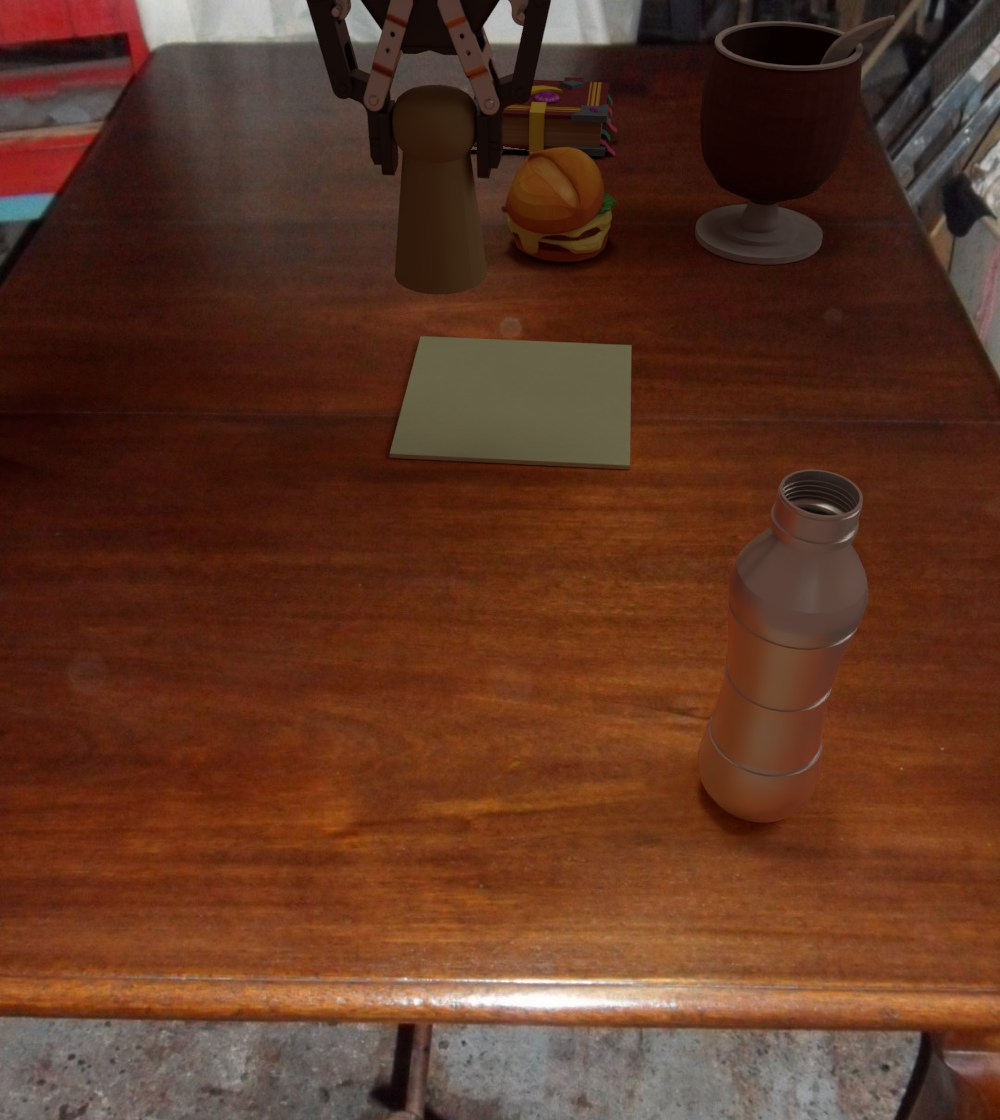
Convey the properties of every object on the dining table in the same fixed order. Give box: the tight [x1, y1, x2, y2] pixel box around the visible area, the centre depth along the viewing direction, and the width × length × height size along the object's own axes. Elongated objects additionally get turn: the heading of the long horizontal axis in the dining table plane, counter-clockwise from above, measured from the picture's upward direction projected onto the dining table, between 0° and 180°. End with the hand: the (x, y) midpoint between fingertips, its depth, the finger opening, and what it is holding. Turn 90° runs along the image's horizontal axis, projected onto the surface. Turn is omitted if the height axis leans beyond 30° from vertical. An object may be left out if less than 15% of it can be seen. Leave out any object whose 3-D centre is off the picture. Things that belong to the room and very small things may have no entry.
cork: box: [391, 84, 488, 295], centre depth 73 cm, size 6×6×11 cm
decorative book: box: [472, 76, 618, 157], centre depth 132 cm, size 11×16×5 cm
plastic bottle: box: [697, 468, 869, 824], centre depth 59 cm, size 6×7×20 cm
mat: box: [389, 335, 633, 471], centre depth 95 cm, size 18×18×1 cm
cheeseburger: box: [500, 147, 619, 263], centre depth 111 cm, size 10×11×10 cm
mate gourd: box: [694, 14, 896, 266], centre depth 109 cm, size 16×14×20 cm
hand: (437, 170), depth 73 cm, fingers closed on cork, 5 cm apart
